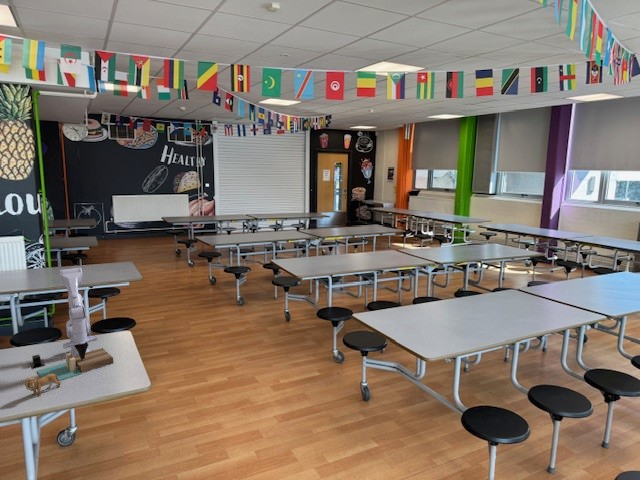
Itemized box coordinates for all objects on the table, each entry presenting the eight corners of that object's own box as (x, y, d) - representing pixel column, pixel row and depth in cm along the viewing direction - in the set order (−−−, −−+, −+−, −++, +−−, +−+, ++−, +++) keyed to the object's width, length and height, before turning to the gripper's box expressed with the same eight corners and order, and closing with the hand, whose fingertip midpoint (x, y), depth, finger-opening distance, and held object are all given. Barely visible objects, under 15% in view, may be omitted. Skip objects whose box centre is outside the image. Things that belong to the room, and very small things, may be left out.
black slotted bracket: (27, 363, 209) (25, 354, 208) (44, 358, 214) (43, 350, 213) (30, 371, 199) (28, 362, 199) (48, 367, 204) (47, 358, 203)
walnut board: (72, 362, 208) (71, 356, 207) (103, 353, 217) (102, 347, 217) (81, 373, 196) (81, 367, 196) (113, 363, 206) (113, 357, 205)
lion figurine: (32, 401, 172) (29, 381, 171) (23, 399, 174) (20, 379, 173) (65, 384, 186) (62, 365, 184) (56, 382, 188) (53, 363, 186)
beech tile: (70, 364, 204) (66, 366, 203) (70, 352, 203) (65, 354, 202) (76, 370, 198) (71, 372, 196) (75, 358, 197) (70, 359, 195)
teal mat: (37, 371, 199) (37, 370, 198) (70, 361, 208) (70, 361, 208) (45, 385, 186) (45, 384, 186) (81, 374, 195) (81, 373, 195)
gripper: (64, 338, 193) (67, 365, 195) (98, 329, 203) (101, 356, 205) (60, 333, 198) (63, 361, 200) (94, 325, 208) (96, 351, 210)
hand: (82, 358), depth 203 cm, fingers closed
